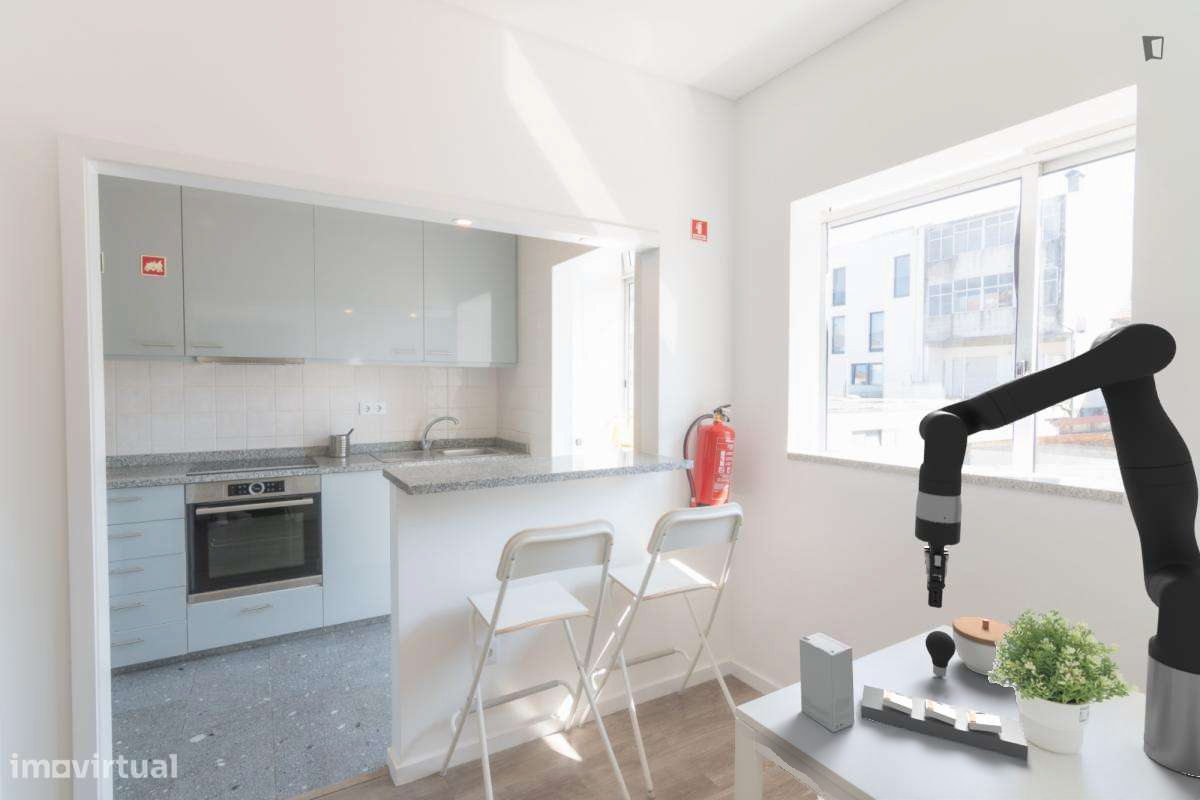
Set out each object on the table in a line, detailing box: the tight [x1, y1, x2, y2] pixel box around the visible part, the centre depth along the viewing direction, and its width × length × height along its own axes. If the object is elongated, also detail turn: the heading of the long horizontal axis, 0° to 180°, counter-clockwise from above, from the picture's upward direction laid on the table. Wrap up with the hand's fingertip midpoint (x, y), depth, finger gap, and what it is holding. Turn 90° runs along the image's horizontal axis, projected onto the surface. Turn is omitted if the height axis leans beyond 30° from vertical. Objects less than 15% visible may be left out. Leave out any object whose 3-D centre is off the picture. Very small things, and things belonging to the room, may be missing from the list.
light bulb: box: [925, 630, 956, 679], centre depth 125 cm, size 6×6×10 cm
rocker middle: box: [924, 699, 956, 725], centre depth 107 cm, size 5×3×1 cm
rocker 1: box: [883, 689, 912, 714], centre depth 110 cm, size 5×3×1 cm
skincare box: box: [799, 632, 855, 733], centre depth 111 cm, size 8×6×15 cm
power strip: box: [860, 684, 1029, 761], centre depth 108 cm, size 26×8×3 cm, turn 62°
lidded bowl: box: [951, 616, 1011, 677], centre depth 129 cm, size 13×13×11 cm
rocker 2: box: [967, 713, 1002, 733], centre depth 103 cm, size 5×3×1 cm
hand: (933, 598), depth 112 cm, fingers open, 8 cm apart
